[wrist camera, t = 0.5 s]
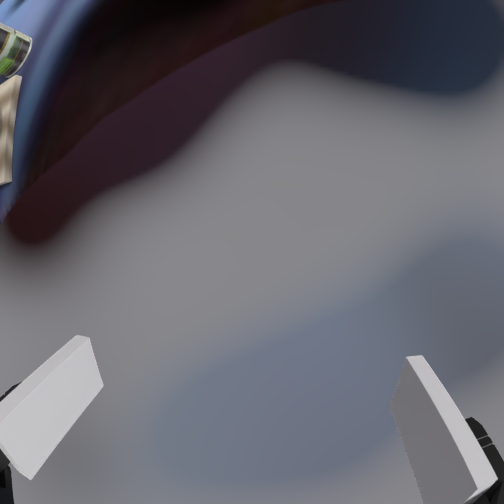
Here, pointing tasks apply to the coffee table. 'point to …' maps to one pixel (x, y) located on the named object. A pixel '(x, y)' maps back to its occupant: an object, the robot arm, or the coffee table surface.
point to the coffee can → (13, 50)
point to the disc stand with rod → (0, 119)
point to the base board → (8, 125)
